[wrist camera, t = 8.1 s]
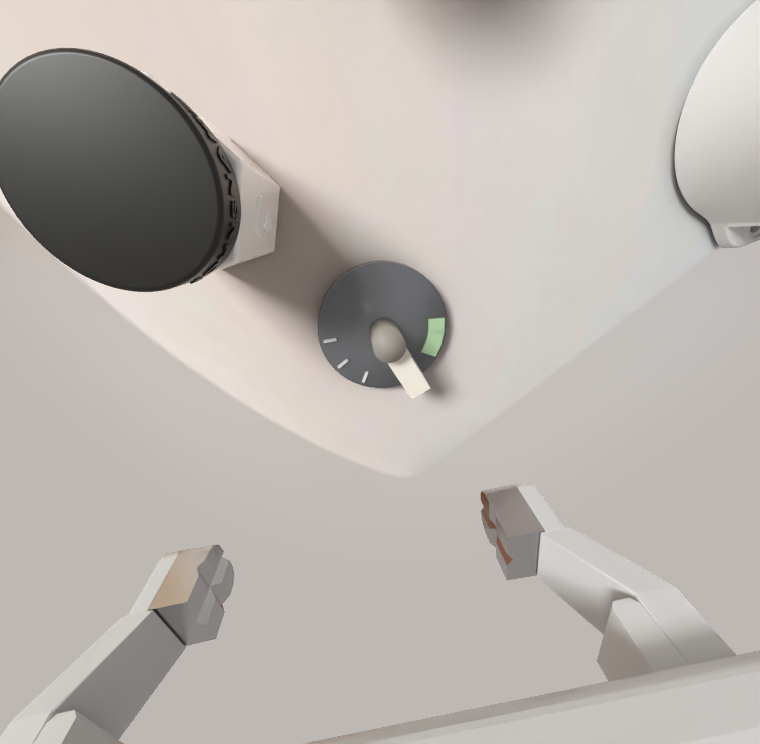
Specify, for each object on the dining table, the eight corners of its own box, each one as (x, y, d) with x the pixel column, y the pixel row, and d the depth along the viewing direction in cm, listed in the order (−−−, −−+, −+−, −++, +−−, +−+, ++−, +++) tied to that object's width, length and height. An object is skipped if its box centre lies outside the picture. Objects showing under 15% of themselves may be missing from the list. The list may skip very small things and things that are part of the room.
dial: (437, 250, 25) (442, 251, 24) (446, 370, 30) (450, 376, 29) (304, 273, 25) (302, 276, 24) (334, 391, 30) (333, 398, 29)
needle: (364, 327, 26) (367, 343, 22) (388, 311, 26) (395, 325, 22) (402, 384, 28) (410, 407, 25) (425, 371, 28) (436, 392, 25)
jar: (275, 280, 25) (222, 318, 14) (165, 257, 24) (14, 281, 13) (286, 151, 22) (228, 74, 11) (159, 115, 20) (-55, -15, 9)
